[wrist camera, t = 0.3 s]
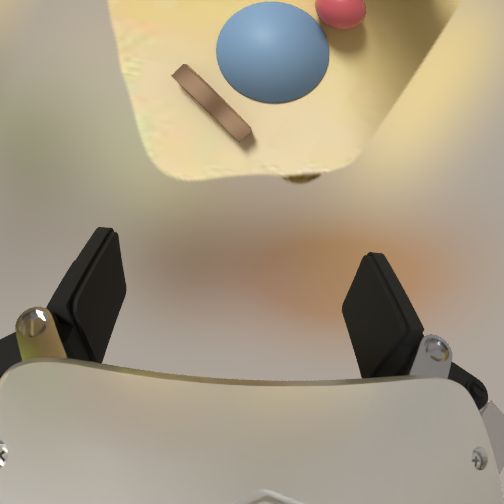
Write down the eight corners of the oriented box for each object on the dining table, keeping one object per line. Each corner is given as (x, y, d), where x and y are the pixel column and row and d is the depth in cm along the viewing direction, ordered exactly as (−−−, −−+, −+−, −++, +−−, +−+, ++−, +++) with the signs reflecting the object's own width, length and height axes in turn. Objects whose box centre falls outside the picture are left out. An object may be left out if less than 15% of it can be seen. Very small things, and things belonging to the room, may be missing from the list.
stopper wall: (175, 75, 32) (171, 75, 30) (186, 64, 31) (183, 64, 29) (239, 137, 38) (239, 142, 36) (250, 127, 37) (251, 131, 35)
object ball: (314, -14, 25) (326, -26, 20) (358, -1, 26) (377, -9, 21) (306, 24, 28) (318, 18, 24) (351, 36, 29) (369, 33, 24)
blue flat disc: (225, -5, 26) (225, -5, 26) (336, 16, 28) (337, 15, 27) (209, 95, 34) (209, 95, 34) (317, 111, 36) (317, 112, 35)
